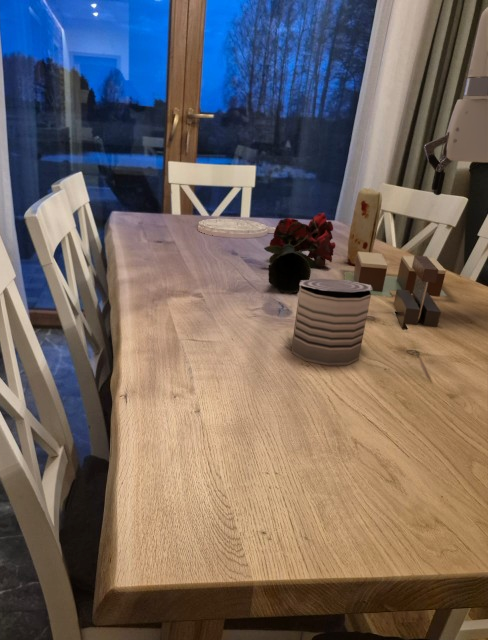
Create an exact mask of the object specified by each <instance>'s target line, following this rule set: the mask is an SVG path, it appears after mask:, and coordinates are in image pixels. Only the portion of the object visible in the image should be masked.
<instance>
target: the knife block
mask: <svg viewBox="0 0 488 640" xmlns="http://www.w3.org/2000/svg"><path fill="white" fill-rule="evenodd" d="M393 306H394V308H395V311H394V313H395V315H396V318H397V319H398V322H399V324H400V326H401V328H402V329H404V330H405V329H406V330H408V326H407V325H412V326H413V325H414V326H416V325H418V323H419V322H418V317H419V313H420V308H419V307H418V305H417V303H416V302H415V300H414V298H413V297H412V294H411V293H410V291H409V290H399V289H397V291H395V296H394V301H393ZM441 313H442V311H441V310H440V308H439V306H438V305H437V304H436V302H435V301H434V300H433V298H432V296H431V295H429V294H428V292H426V294H425V298H424V302H423V307H422V311H421V315H420V320H419V321H420V322H421V324H422V325H423V326H424V327H434V328H438V325H439V322H440V319H441Z"/></svg>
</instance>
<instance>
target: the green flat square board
mask: <svg viewBox="0 0 488 640" xmlns="http://www.w3.org/2000/svg"><path fill="white" fill-rule="evenodd" d="M343 274H344V278H345V280H347V281H353V282H355V280H354V276H353V275H354V272H349V271H344V273H343ZM397 289H399V290H402V289H401V287H400V285H399V283H398V281H397V276H391V275H386V276H385V281H384V286H383V291H382V292H381V291H370V290H369V291H370V293H371V296H379V297H389V298H393V297H394V296H393V294H392V292H396V291H397ZM440 296H442V297H447V296H448V295H447V293H446V292H444V290H443V288H442V289H441V293H440Z"/></svg>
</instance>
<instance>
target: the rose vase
mask: <svg viewBox="0 0 488 640" xmlns="http://www.w3.org/2000/svg"><path fill="white" fill-rule="evenodd" d="M327 219H328V217H326V214H325V212H322V213H321V212H318V213H317V215H314V216H312V219H310V221H309V222H308V224H306V223H302V222H300V221H299V219H296V218H289V217H286V218H281V219H280V220H279V221H278V223H277V225H276V227H275V228H276V229H275V231H274V233H273V238H271V239H270V241H269V245H268V246H265V247H263V249H264V250H265V252H267V253H271V254H272V255H271V256H270V257H269V259H268V260H269V265H268V283H269V284H270V285H272V286H273V287H274V289H276V290H277V291H278V292H280V293H284V294H293V293H297V292H299V290H300V281H301V280H311V279H310V278H311V275H312V274H311V273H312V270H311V268H313V269H322V268H323V267H325V266H326V262H327V261H328V262H329V263H333V257H334V250H335V248H336V243H335V242H334V241H332V240H333V239H334V237H333V234H332V232H333V231H334V224H333V222H332V221H330V220H327ZM331 241H332V242H331ZM307 251H308V254H305V253H303V252H307Z"/></svg>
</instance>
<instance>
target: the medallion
mask: <svg viewBox="0 0 488 640" xmlns="http://www.w3.org/2000/svg"><path fill="white" fill-rule="evenodd" d="M275 229H276V227H274V226H268V225H266V224H265V223H261V222H259V221H253V220H247V219H237V218H235V219H234V218H206V219H202V220H200V221H198V225H197V231H198V232H199V231H200V233H201V232H202V234H204V233H205V234H204V235H208V236H212V235H213V237H220V238H229V239H230V238H231V239H255V238H263V237H265V236H267V235H268V234H274V231H275Z"/></svg>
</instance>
